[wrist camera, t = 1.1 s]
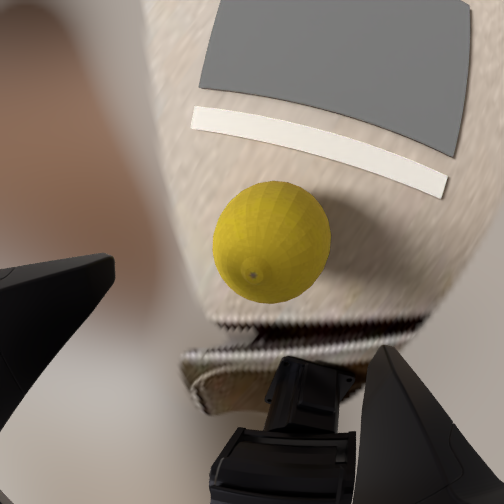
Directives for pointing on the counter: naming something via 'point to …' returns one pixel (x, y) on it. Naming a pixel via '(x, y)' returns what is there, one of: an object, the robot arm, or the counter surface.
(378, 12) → the mat
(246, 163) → the counter surface
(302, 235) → the lemon
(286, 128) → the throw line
